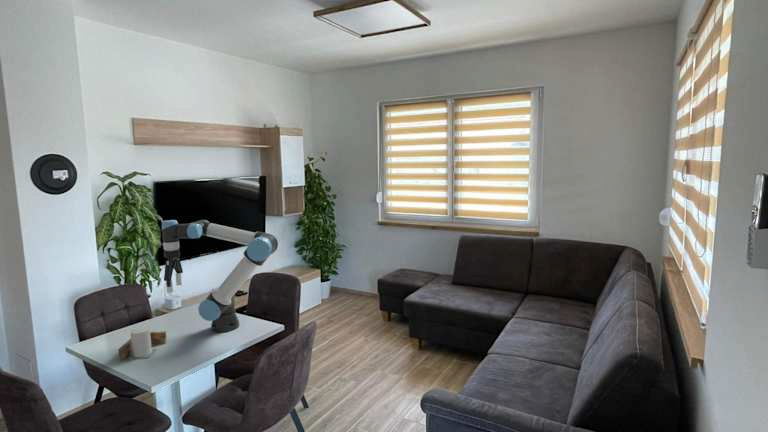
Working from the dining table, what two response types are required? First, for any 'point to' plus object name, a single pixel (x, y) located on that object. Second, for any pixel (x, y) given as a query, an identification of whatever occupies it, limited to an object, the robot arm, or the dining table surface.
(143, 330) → the cup
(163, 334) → the brown wooden l-shaped wall
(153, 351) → the pad
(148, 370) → the dining table surface
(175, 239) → the robot arm
